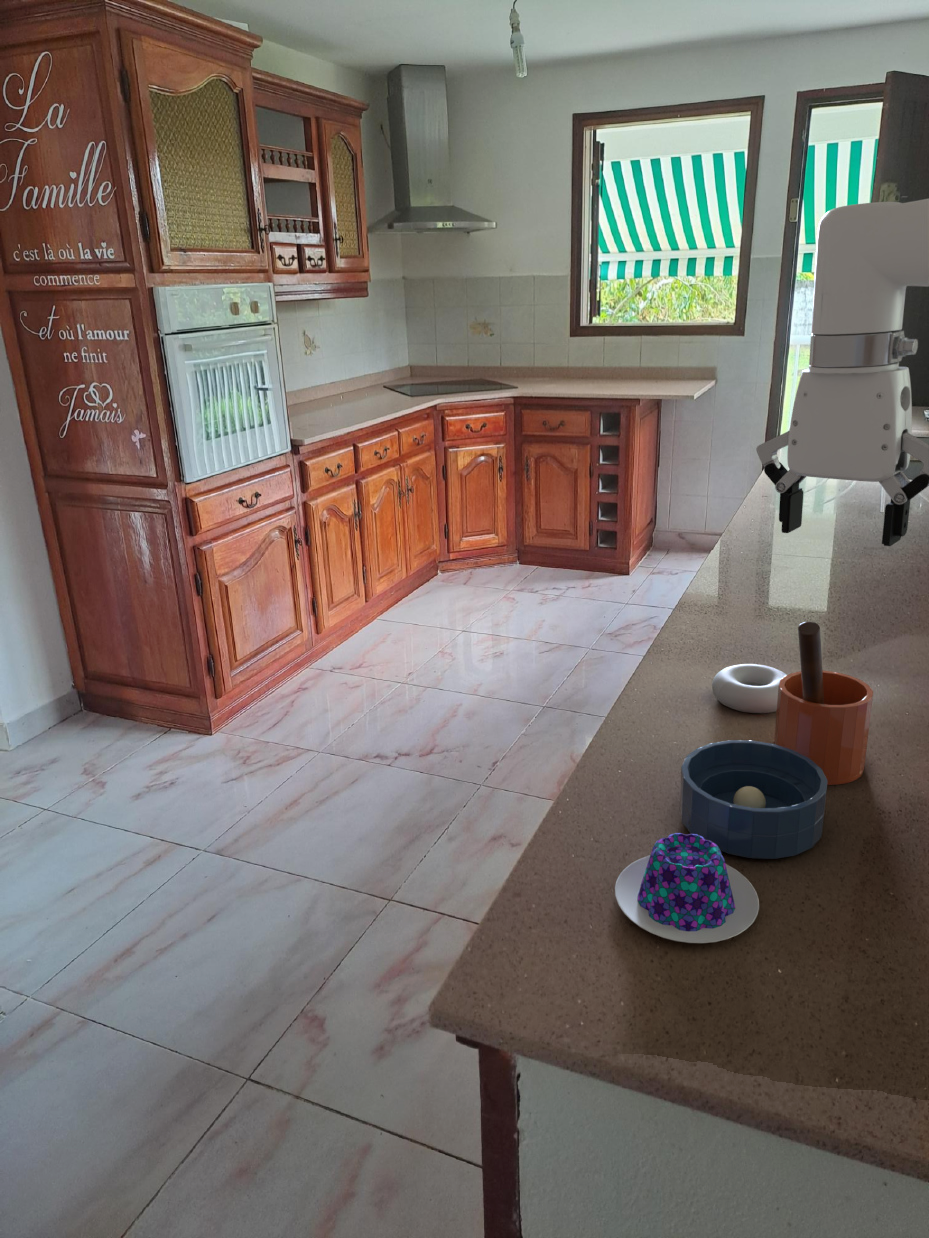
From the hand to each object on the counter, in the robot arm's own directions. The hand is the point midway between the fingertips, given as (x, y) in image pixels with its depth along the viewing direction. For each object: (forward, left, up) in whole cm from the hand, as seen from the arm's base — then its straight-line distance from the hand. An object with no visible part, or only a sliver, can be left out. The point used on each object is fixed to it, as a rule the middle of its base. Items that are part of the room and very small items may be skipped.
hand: (839, 536), depth 86 cm
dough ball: (+1, +13, -24) cm, 27 cm away
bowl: (+1, +14, -26) cm, 29 cm away
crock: (0, -1, -26) cm, 26 cm away
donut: (+13, -11, -26) cm, 31 cm away
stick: (+1, -1, -25) cm, 25 cm away
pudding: (0, +28, -26) cm, 38 cm away
